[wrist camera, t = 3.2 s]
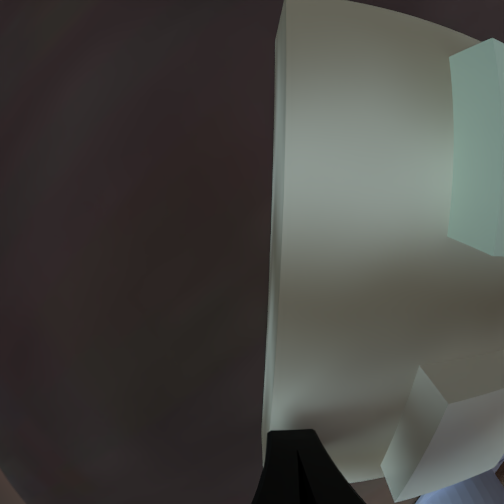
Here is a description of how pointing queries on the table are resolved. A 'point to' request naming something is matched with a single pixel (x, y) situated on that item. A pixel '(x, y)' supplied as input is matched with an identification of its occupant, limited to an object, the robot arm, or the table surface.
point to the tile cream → (448, 426)
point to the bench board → (365, 228)
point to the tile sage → (478, 147)
